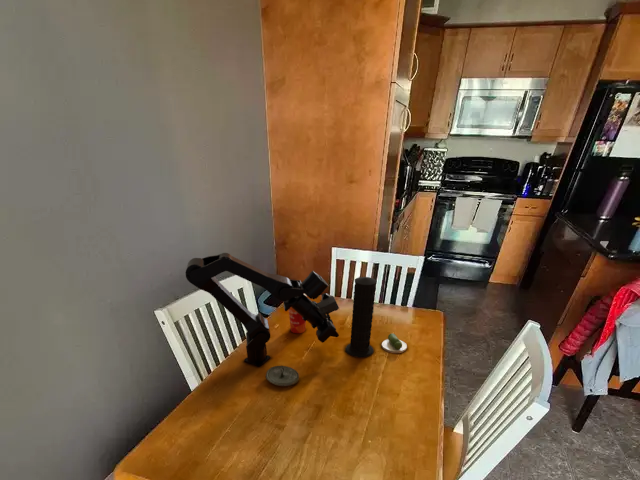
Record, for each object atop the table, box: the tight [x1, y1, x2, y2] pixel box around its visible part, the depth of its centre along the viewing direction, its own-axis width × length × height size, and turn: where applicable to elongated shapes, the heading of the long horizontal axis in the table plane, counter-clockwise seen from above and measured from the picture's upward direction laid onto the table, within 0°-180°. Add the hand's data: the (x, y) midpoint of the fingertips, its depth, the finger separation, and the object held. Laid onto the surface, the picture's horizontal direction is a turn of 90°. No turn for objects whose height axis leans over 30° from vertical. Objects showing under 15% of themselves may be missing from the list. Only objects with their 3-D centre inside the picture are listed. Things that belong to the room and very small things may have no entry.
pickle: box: [381, 332, 408, 354], centre depth 131 cm, size 9×9×4 cm
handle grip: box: [345, 276, 377, 358], centre depth 122 cm, size 10×26×10 cm
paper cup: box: [288, 293, 308, 334], centre depth 137 cm, size 8×8×14 cm
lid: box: [265, 365, 300, 387], centre depth 113 cm, size 11×10×5 cm
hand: (337, 335), depth 125 cm, fingers closed
